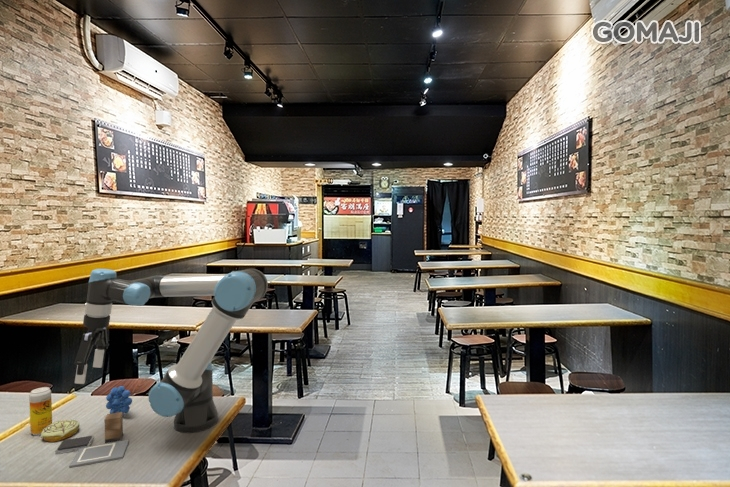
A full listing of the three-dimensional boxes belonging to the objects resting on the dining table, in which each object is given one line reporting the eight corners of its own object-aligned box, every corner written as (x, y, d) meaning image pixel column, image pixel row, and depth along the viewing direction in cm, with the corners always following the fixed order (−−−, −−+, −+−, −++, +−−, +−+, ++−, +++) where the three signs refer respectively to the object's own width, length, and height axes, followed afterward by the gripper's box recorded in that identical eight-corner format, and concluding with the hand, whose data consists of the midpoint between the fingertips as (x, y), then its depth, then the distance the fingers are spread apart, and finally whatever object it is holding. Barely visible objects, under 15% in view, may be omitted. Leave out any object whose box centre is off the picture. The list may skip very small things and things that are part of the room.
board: (128, 441, 140) (128, 439, 140) (122, 458, 130) (122, 455, 130) (79, 449, 135) (79, 447, 135) (69, 467, 125) (69, 465, 125)
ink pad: (93, 438, 142) (93, 434, 142) (88, 448, 135) (88, 444, 135) (62, 443, 139) (62, 439, 139) (55, 454, 132) (55, 450, 132)
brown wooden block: (123, 434, 145) (122, 411, 144) (120, 440, 140) (119, 417, 140) (108, 436, 143) (107, 414, 143) (105, 443, 139) (104, 419, 139)
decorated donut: (33, 444, 139) (33, 432, 139) (55, 428, 150) (55, 418, 150) (66, 442, 140) (66, 431, 140) (85, 427, 150) (85, 417, 150)
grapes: (140, 413, 161) (140, 383, 160) (126, 421, 154) (125, 389, 154) (116, 410, 164) (115, 380, 163) (101, 417, 157) (100, 386, 157)
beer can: (40, 436, 143) (38, 394, 143) (26, 435, 144) (24, 392, 144) (56, 428, 149) (55, 387, 149) (42, 427, 150) (41, 386, 150)
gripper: (100, 304, 152) (92, 360, 154) (67, 323, 128) (57, 389, 129) (123, 306, 154) (114, 362, 155) (93, 326, 130) (84, 391, 131)
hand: (88, 374), depth 142 cm, fingers open, 13 cm apart
